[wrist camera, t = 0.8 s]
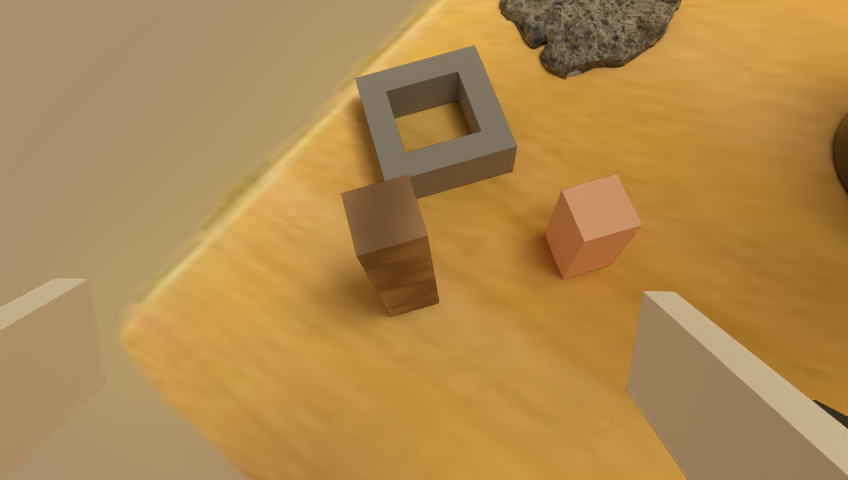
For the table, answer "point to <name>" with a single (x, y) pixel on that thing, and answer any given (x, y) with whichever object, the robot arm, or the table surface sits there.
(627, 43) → the stone slab
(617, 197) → the short peg
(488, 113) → the collar
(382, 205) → the long peg
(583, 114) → the table surface
